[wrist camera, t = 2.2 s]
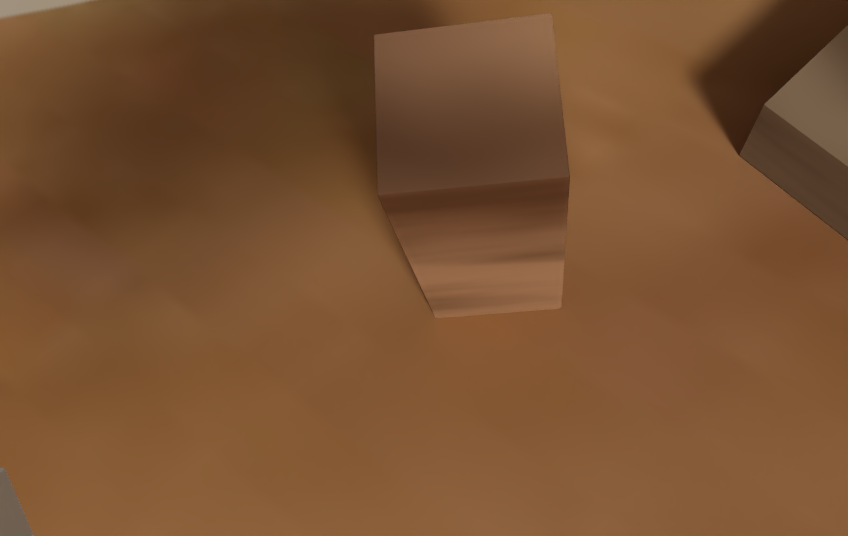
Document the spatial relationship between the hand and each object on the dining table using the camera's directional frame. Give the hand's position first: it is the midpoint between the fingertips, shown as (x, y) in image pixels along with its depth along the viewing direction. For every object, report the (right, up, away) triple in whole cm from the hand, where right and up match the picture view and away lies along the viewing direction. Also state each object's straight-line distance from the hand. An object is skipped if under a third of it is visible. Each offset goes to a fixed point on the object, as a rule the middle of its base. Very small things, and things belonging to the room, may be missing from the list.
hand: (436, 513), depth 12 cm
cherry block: (+3, +4, +21) cm, 21 cm away
